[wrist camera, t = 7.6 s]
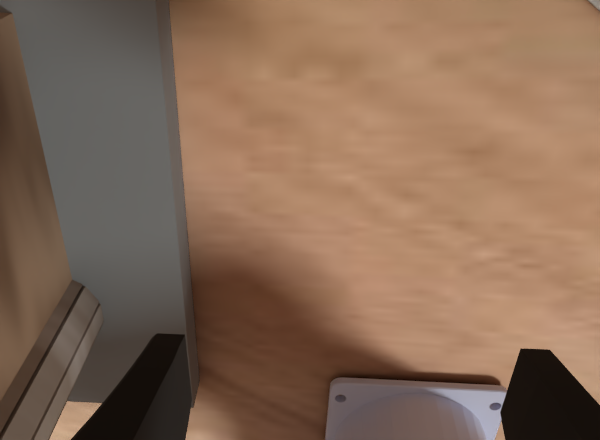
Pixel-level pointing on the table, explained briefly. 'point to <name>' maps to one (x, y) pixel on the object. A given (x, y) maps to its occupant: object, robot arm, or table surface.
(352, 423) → the robot arm
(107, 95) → the hinge board
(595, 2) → the wrench
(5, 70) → the door
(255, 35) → the table surface
